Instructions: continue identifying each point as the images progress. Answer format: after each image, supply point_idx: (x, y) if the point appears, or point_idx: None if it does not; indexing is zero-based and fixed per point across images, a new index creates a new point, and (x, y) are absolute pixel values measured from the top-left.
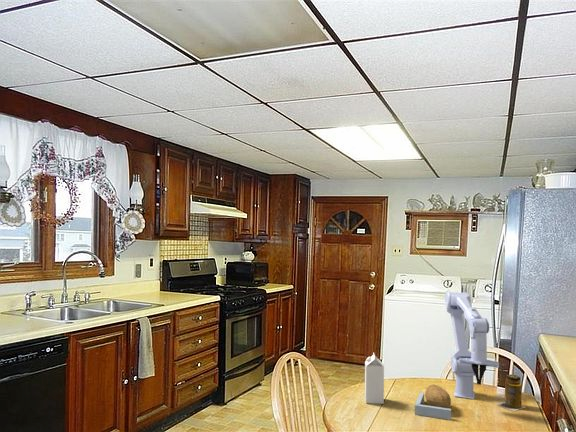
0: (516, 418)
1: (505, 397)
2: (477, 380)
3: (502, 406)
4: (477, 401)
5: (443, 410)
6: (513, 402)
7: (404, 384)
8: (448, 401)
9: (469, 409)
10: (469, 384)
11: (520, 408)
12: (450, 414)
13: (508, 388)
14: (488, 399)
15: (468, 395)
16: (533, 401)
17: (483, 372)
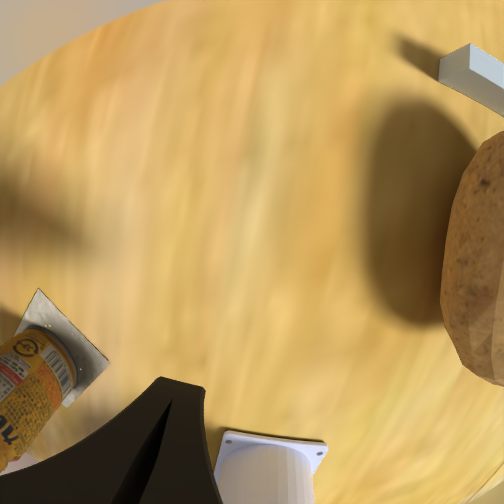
0: (39, 179)
1: (54, 386)
2: (190, 417)
3: (87, 349)
4: (211, 409)
5: (501, 67)
6: (26, 342)
7: (470, 479)
8: (497, 142)
9: (291, 271)
10: (242, 500)
11: (22, 331)
12: (457, 52)
13: (4, 399)
14: None
15: (253, 450)
16: None
17: (19, 481)
